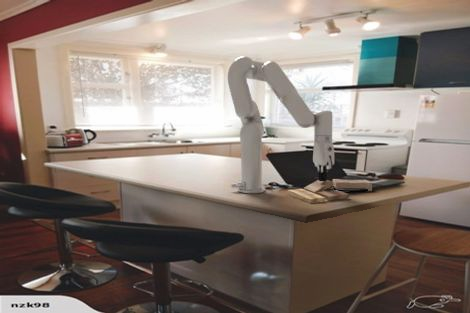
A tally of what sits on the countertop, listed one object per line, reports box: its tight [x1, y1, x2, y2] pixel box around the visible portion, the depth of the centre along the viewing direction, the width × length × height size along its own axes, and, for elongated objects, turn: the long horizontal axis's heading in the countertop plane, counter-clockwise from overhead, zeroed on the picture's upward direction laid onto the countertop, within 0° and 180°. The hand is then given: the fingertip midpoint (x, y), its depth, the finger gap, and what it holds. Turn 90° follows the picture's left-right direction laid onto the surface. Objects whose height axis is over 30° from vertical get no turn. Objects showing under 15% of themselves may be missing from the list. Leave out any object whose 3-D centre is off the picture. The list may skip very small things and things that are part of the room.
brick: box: [331, 178, 373, 192], centre depth 162 cm, size 17×8×5 cm, turn 88°
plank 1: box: [302, 179, 334, 194], centre depth 154 cm, size 10×9×2 cm
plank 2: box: [316, 189, 350, 200], centre depth 146 cm, size 10×9×2 cm
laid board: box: [286, 188, 328, 204], centre depth 147 cm, size 8×18×2 cm, turn 20°
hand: (322, 180), depth 154 cm, fingers closed
